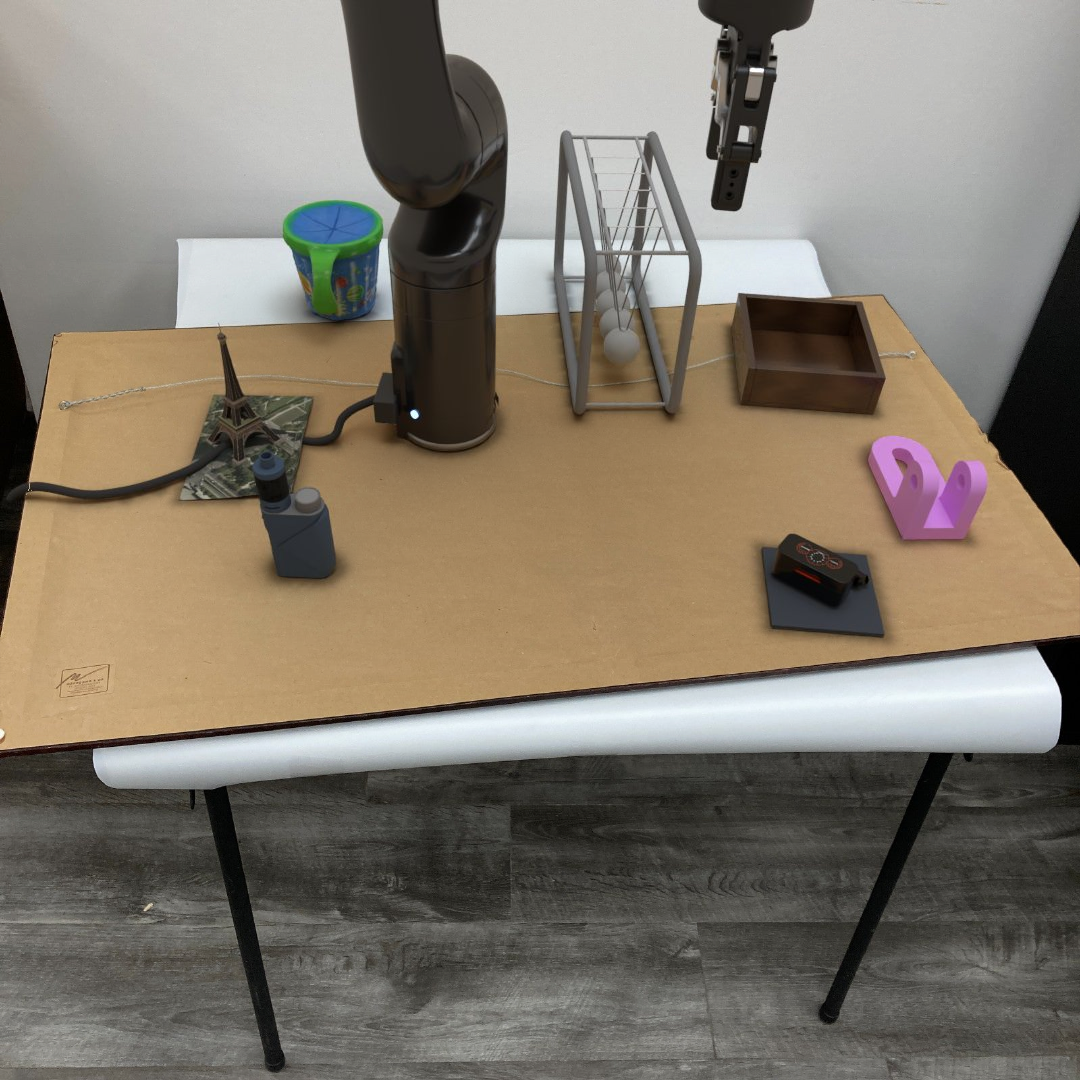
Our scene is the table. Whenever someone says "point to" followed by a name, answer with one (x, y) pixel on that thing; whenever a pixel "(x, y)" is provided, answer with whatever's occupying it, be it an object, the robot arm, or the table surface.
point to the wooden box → (805, 354)
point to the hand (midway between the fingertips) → (721, 182)
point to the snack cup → (336, 255)
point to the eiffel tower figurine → (245, 437)
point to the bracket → (926, 490)
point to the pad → (822, 604)
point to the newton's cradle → (606, 271)
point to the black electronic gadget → (816, 570)
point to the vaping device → (294, 522)
